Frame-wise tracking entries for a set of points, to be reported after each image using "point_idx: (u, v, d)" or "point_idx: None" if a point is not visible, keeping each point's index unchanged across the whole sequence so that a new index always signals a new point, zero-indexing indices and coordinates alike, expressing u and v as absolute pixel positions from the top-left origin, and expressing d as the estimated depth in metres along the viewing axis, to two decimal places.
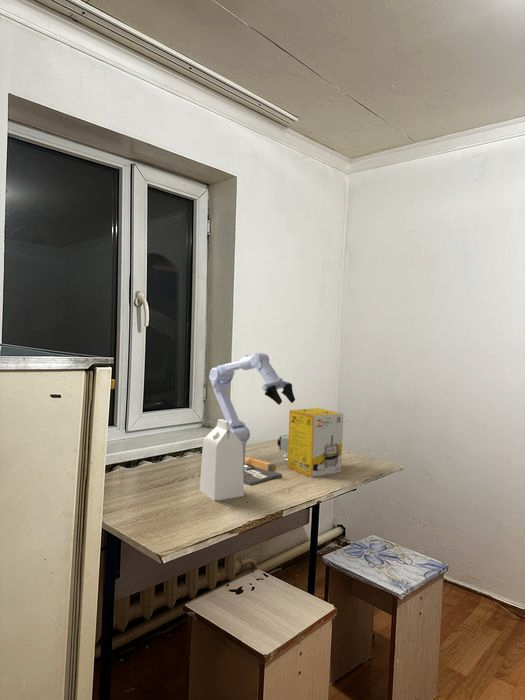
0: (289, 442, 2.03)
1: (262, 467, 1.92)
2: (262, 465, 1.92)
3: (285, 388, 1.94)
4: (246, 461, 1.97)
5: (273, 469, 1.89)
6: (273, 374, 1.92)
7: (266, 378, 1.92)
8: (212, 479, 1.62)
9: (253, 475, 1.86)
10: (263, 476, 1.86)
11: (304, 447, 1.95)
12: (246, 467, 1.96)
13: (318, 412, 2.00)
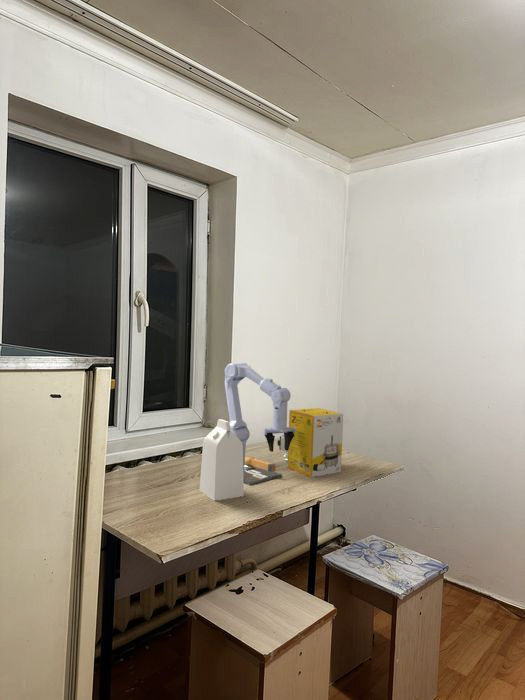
0: None
1: (262, 467, 1.92)
2: (262, 465, 1.92)
3: (287, 434, 1.96)
4: (246, 461, 1.97)
5: (273, 469, 1.89)
6: (281, 422, 1.92)
7: (273, 420, 1.93)
8: (212, 479, 1.62)
9: (253, 475, 1.86)
10: (263, 476, 1.86)
11: (304, 447, 1.95)
12: (246, 467, 1.96)
13: (318, 412, 2.00)
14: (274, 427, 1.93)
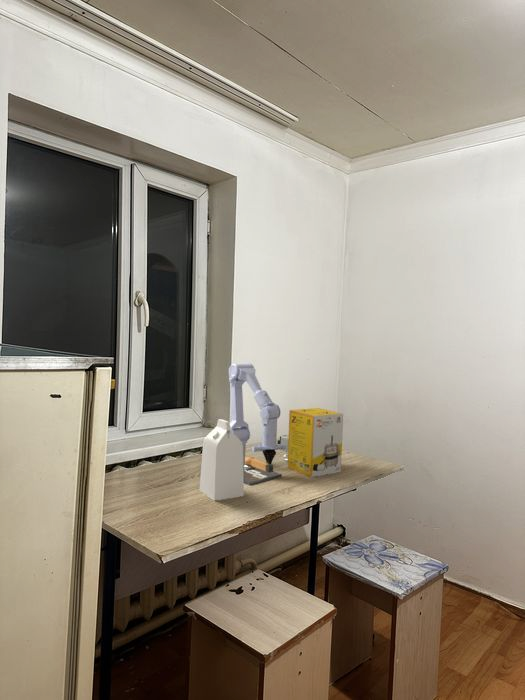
0: (289, 442, 2.03)
1: (260, 467, 1.91)
2: (260, 465, 1.91)
3: None
4: (246, 461, 1.97)
5: (270, 470, 1.88)
6: (270, 439, 1.89)
7: (263, 437, 1.90)
8: (212, 479, 1.62)
9: (253, 475, 1.86)
10: (263, 476, 1.86)
11: (304, 447, 1.95)
12: (246, 467, 1.96)
13: (318, 412, 2.00)
14: (263, 444, 1.90)
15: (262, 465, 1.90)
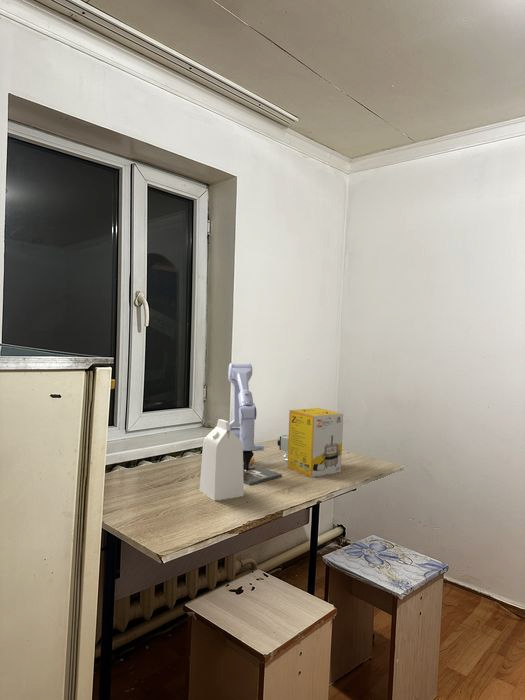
0: (289, 442, 2.03)
1: None
2: None
3: None
4: None
5: None
6: (247, 440, 1.85)
7: (240, 438, 1.87)
8: (212, 479, 1.62)
9: (253, 475, 1.86)
10: (263, 476, 1.86)
11: (304, 447, 1.95)
12: None
13: (318, 412, 2.00)
14: None
15: None
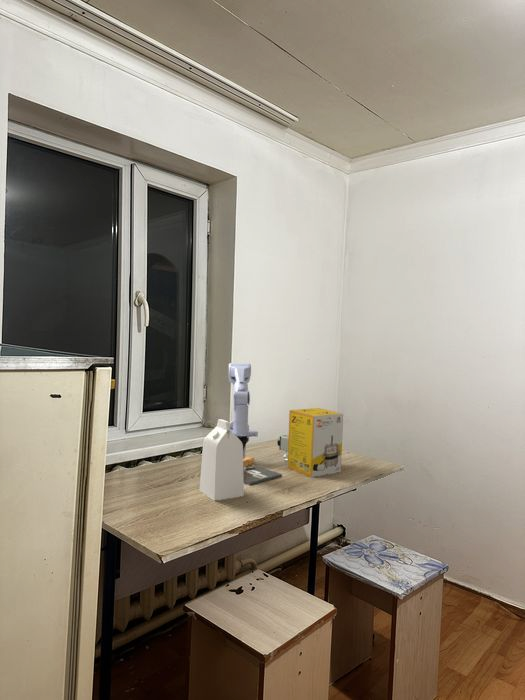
0: (289, 442, 2.03)
1: None
2: None
3: None
4: None
5: None
6: (241, 425, 1.85)
7: (234, 424, 1.87)
8: (212, 479, 1.62)
9: (253, 475, 1.86)
10: (263, 476, 1.86)
11: (304, 447, 1.95)
12: (246, 467, 1.96)
13: (318, 412, 2.00)
14: (234, 431, 1.86)
15: None
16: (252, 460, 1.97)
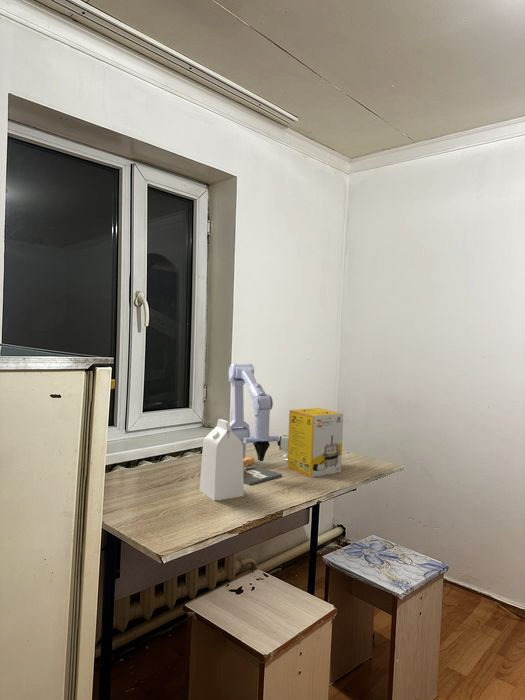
0: (289, 442, 2.03)
1: None
2: None
3: None
4: None
5: None
6: (262, 430, 1.83)
7: (255, 429, 1.84)
8: (212, 479, 1.62)
9: (253, 475, 1.86)
10: (263, 476, 1.86)
11: (304, 447, 1.95)
12: (246, 467, 1.96)
13: (318, 412, 2.00)
14: (255, 436, 1.84)
15: None
16: (252, 460, 1.97)
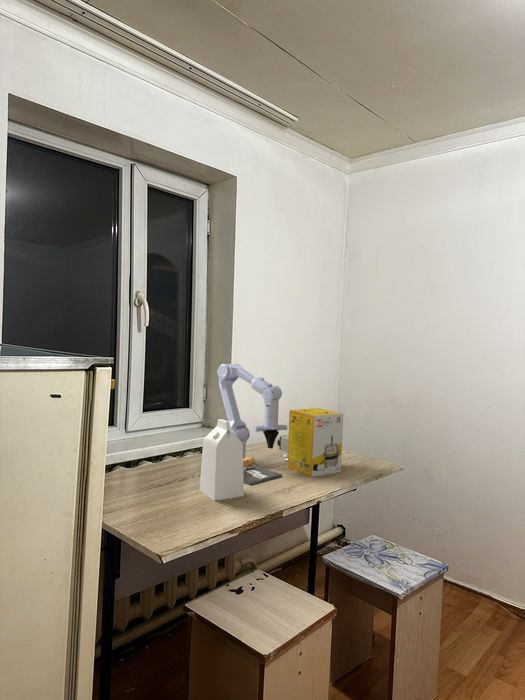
0: (289, 442, 2.03)
1: None
2: None
3: None
4: None
5: None
6: (272, 419, 1.94)
7: (265, 418, 1.95)
8: (212, 479, 1.62)
9: (253, 475, 1.86)
10: (263, 476, 1.86)
11: (304, 447, 1.95)
12: (246, 467, 1.96)
13: (318, 412, 2.00)
14: (265, 425, 1.95)
15: None
16: (252, 460, 1.97)
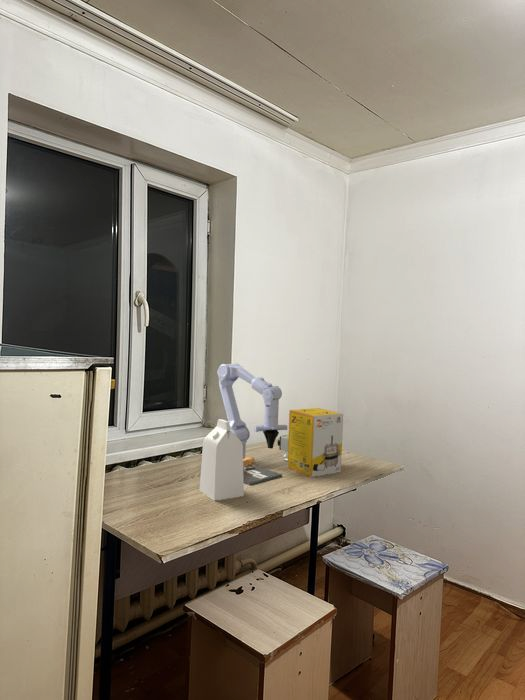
0: (289, 442, 2.03)
1: None
2: None
3: None
4: None
5: None
6: (272, 419, 1.94)
7: (265, 418, 1.95)
8: (212, 479, 1.62)
9: (253, 475, 1.86)
10: (263, 476, 1.86)
11: (304, 447, 1.95)
12: (246, 467, 1.96)
13: (318, 412, 2.00)
14: (265, 425, 1.95)
15: None
16: (252, 460, 1.97)
